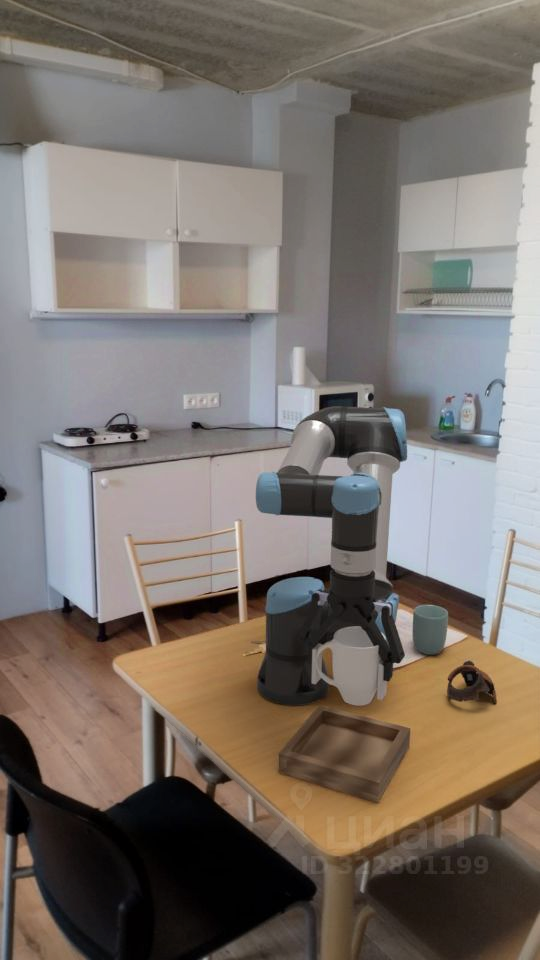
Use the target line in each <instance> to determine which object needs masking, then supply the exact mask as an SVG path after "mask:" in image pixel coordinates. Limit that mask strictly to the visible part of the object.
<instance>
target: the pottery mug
mask: <svg viewBox="0 0 540 960" xmlns="http://www.w3.org/2000/svg"><path fill="white" fill-rule="evenodd" d="M462 664H463V665H460V666H458V667H456V668H454V669H453V670H451V672H450V673H449V674H448V677H447V681H448V683H447V689H446V695H447V697H448V700H453V701H457V702H459V703H460V702H461V703H462V702H468V701H476V702H480V700H479V699H480V698H479V692H480V693H485V694H486V693H487V694H489V695H491V696H492V698H493V703H494V704H495V705H497V702H498V701H497V691H496V690H495V689H496V688H495V685H494V683H493V681H492V679H491V677H490V676H489V675H488V673H486V672H485V671H483V670H481V669H479V668H478V667H477V666H475V663H474V662H473V661H471V660H467V661H465V662H464V663H462ZM459 674H460V675H461V676H462V678H463V680H464V683H465V686H466V687H467V688H461V689H459V688H456V687H454V686H453V684H452V682H453V681H454V679H455V678H456V677H457V676H458V675H459Z"/></svg>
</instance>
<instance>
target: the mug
mask: <svg viewBox="0 0 540 960" xmlns="http://www.w3.org/2000/svg"><path fill="white" fill-rule="evenodd" d="M382 635H383V637H384V638H385V635H384V634H383V633H382ZM385 640H386V638H385ZM326 649H330V650H331V654H332V655H331V657H332V658H331V659H332V675H333V678H330V677H327V676H326V675H325V674H323V673H322V671H321V670H320V668H319V667H318V664H317V659H316V668H317V671H318V673H319V675H320V676H321V678H322V679H323V680H324V681H326V682H327V683H328V684H329V686H330V685H331V686H334V687H336V688H337V689H338V691H339V693H340V695H341V698H342V699H343V701H344V702H345V703H346V704H348V705H351V706H352V705H353V706H357V707H358V706H366V705H368V704H370V703H371V702H372V700H373V698H374V697H375V694H376V693H377V688H378V666H379V663H380V662H381V661H382V659H381V657H380V656H379V654H378V649H379V646H378V645H377V646H374V645H373V644H372V642H371V640H370V638H369V637H368V635H367V633H366V632H365V630H363V629H362V627H361V626H353V627H346V628H342V629H340V630H338V631H336V632H335V634H334V638H333V640H331V641H330V642H327V643H325V644H324V645H322V646H321V647H320V648H319V650H318V653H317V657H318V655H319V654H320V652H321V651H322V652H323V651H324V650H326Z"/></svg>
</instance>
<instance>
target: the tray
mask: <svg viewBox="0 0 540 960" xmlns="http://www.w3.org/2000/svg"><path fill="white" fill-rule="evenodd" d="M410 742H411V727H407V726H403V725H399V724H396V723H395V724H394V723H391V722H388V721H383V720H380V719H376V718H372V717H367V716H364V715H360V714H357V713H352V712H349V711H345V710H341V709H336V708H334V707H329V706H326V705H321V704H318V705H317V706H316V708H315V709H314V710H313V711H312V713H311V714H309V716H308V718H306V719H305V721H304V722H303V723H302V725H300V727H299V728H298V729H297V731H296V732H295V733H294V734H293V735H292V737H291V738H290V739H289V740H288V742H286V744H285V745H284V746H283V747H282V748H281V750H280V751H279V752H278V764H277V765H278V767H277V768H278V771H277V772H278V773H279V772H282V773H284V774H283V775H285V774H286V775H287V776H288V775H290V776H289V777H292V778H294V779H295V778H296V779H299V780H303V781H306V782H307V783H312V784H315V785H318V786H321V787H325V788H329V789H331V790H335V791H337V792H340V793H345V794H348V795H351V796H354V797H358V798H361V799H365V800H368V801H371V802H373V803H378V804H379V802H380V801H381V798H382V797H383V795H384V794H385V792H386V790H387V788H388V786H389V784H390V782H391V781H392V778H393V777H394V775H395V774H396V771H397V770H398V768H399V767H400V764H401V762H402V760H403V758H404V757H405V755H406V753H407V751H408V750H409V748H410V746H411V745H410ZM282 773H281V774H282Z"/></svg>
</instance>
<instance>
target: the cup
mask: <svg viewBox="0 0 540 960" xmlns="http://www.w3.org/2000/svg"><path fill="white" fill-rule="evenodd" d="M412 615H413V616H412V630H411V631H412V643H413V646H414V649H415V650H417V652H419V653H420V654H422V655H423V654H424V655H427V656H433V655H437V654H439V653H441V652H442V650H443V649H444V647H445V645H446V640H447V636H448V625H449V623H448V622H449V611H448V610H447V609H445V608H444V607H441V606H440V605H439V606H438V605H434V604H420V605H417V606H416V607H414V608H413V613H412Z"/></svg>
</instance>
